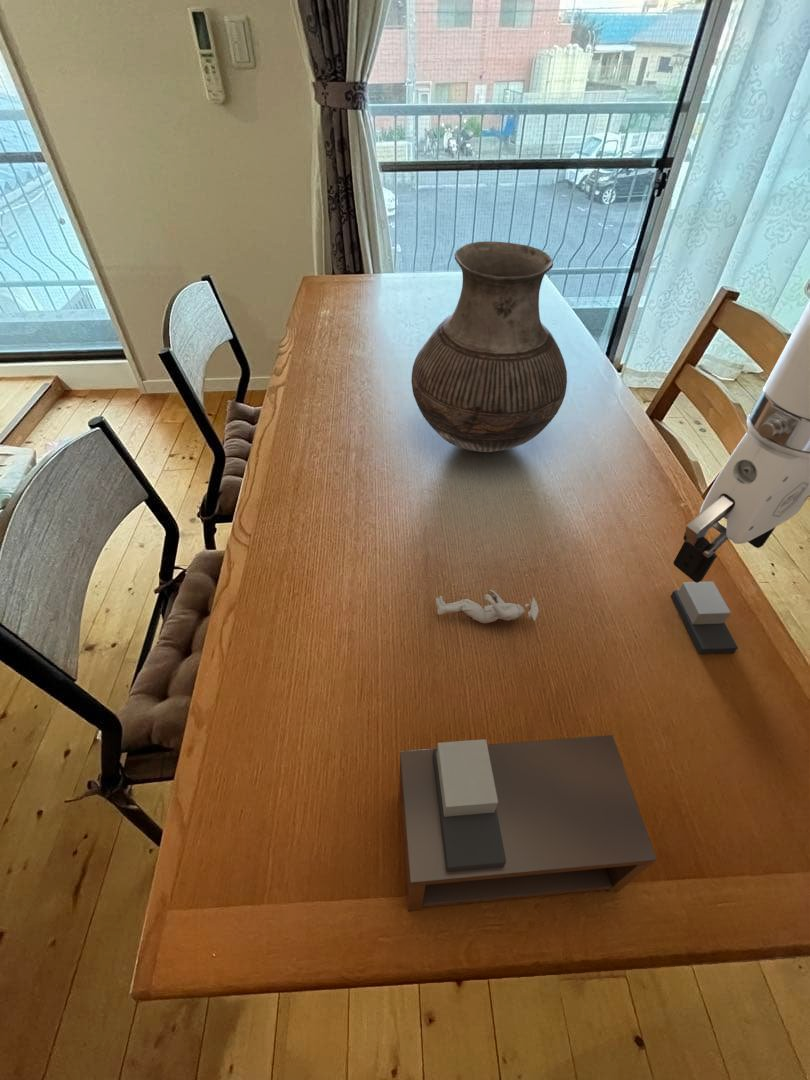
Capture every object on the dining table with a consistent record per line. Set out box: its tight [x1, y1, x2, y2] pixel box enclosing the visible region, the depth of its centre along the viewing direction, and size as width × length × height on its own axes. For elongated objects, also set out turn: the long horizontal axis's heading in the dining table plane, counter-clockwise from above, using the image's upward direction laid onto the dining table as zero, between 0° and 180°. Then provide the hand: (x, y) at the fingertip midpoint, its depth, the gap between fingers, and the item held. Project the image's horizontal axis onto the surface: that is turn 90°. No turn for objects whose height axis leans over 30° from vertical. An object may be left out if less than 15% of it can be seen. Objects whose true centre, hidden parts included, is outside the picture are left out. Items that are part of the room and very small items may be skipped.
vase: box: [411, 240, 568, 453], centre depth 86 cm, size 25×25×30 cm
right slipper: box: [670, 581, 739, 655], centre depth 69 cm, size 9×4×3 cm, turn 3°
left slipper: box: [432, 738, 506, 872], centre depth 44 cm, size 9×4×3 cm, turn 5°
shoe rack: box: [398, 734, 658, 912], centre depth 49 cm, size 10×19×10 cm, turn 95°
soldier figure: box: [435, 589, 540, 624], centre depth 69 cm, size 8×5×12 cm
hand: (717, 555), depth 59 cm, fingers open, 9 cm apart
